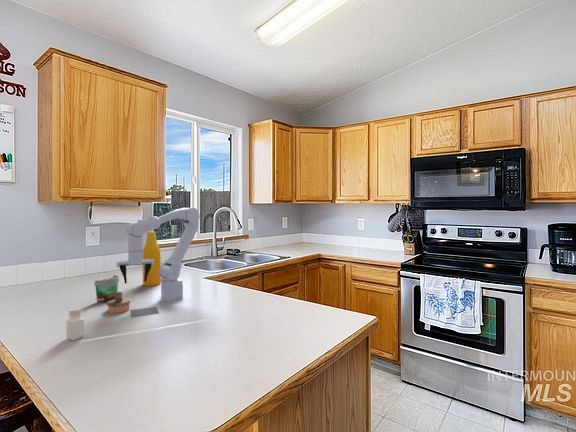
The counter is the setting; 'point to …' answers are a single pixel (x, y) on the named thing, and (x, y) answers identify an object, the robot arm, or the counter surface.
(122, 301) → the lid
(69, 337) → the salt shaker
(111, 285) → the food container
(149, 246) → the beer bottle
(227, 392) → the counter surface
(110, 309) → the bowl
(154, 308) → the mat
